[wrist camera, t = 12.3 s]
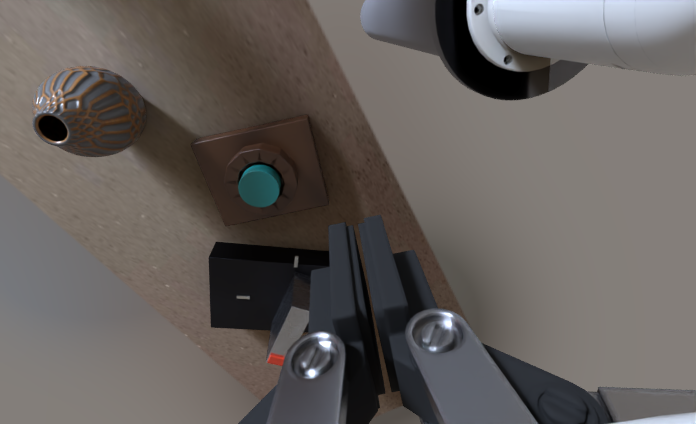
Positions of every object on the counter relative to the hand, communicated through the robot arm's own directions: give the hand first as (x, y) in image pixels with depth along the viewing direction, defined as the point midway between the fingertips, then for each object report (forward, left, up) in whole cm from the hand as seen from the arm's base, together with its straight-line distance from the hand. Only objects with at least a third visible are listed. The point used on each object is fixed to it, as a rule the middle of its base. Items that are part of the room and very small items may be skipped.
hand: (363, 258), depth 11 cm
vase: (+19, -4, -25) cm, 32 cm away
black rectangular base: (+11, +19, -25) cm, 33 cm away
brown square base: (+8, +5, -25) cm, 27 cm away
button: (+8, +5, -22) cm, 24 cm away
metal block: (+9, +20, -22) cm, 31 cm away
